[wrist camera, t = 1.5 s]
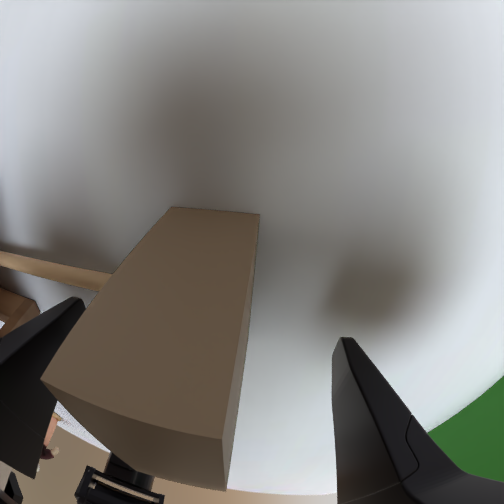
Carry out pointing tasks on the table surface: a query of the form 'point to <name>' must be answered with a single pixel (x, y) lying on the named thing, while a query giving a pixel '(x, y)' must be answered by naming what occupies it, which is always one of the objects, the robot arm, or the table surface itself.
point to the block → (162, 345)
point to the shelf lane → (15, 311)
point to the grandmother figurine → (46, 452)
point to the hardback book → (476, 435)
